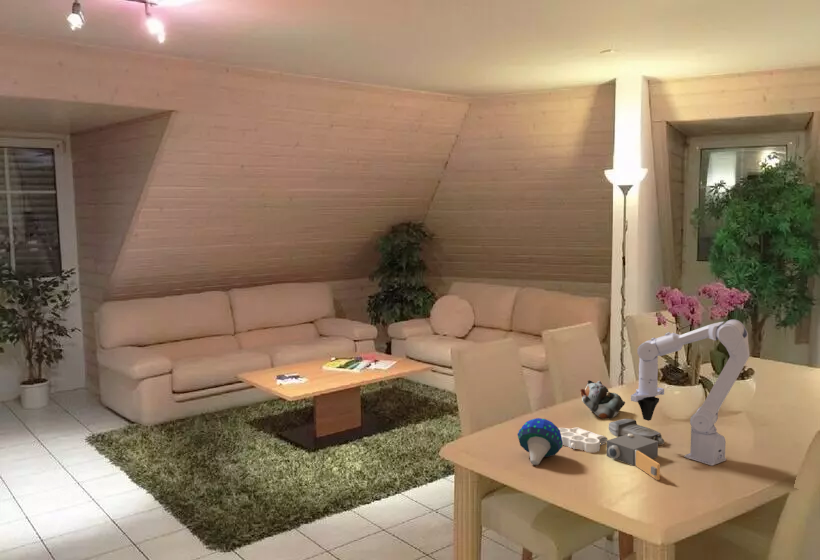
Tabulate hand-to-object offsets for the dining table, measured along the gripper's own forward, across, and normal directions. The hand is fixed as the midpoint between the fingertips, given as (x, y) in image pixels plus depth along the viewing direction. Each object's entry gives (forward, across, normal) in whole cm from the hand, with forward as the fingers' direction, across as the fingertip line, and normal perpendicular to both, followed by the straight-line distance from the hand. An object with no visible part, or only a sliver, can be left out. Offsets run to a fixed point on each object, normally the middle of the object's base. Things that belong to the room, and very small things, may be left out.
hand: (647, 419), depth 222 cm
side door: (+9, +18, +13) cm, 24 cm away
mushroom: (+10, +34, -14) cm, 38 cm away
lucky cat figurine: (+10, -17, -32) cm, 38 cm away
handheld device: (+10, -6, -8) cm, 14 cm away
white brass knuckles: (+10, +14, -16) cm, 24 cm away
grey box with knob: (+9, +10, +2) cm, 14 cm away
